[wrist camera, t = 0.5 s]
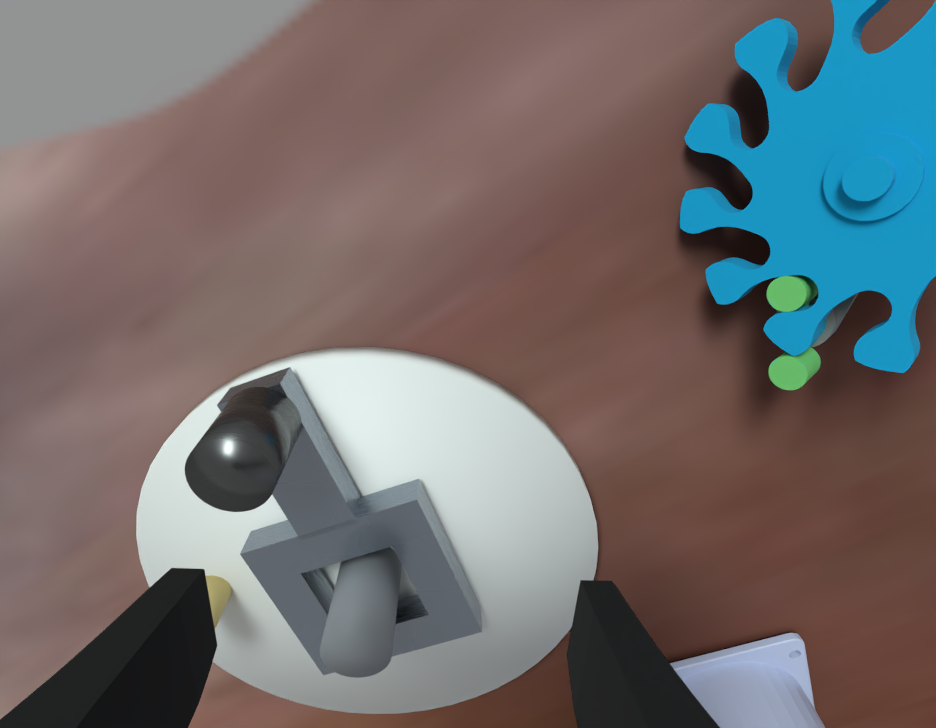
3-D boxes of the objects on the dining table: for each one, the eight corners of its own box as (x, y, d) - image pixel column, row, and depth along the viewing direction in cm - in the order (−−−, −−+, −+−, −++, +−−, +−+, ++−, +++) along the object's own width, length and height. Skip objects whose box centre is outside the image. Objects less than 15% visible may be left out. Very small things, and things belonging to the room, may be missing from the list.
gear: (758, -97, 14) (1412, -53, 8) (829, -48, 18) (1307, 3, 12) (613, 310, 20) (947, 487, 14) (691, 279, 24) (975, 409, 18)
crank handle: (480, 607, 24) (486, 705, 20) (329, 649, 24) (306, 751, 21) (351, 339, 19) (325, 401, 15) (166, 403, 19) (95, 478, 16)
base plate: (636, 636, 26) (673, 748, 22) (280, 729, 29) (247, 849, 24) (515, 275, 19) (534, 330, 15) (52, 438, 21) (-57, 529, 17)
